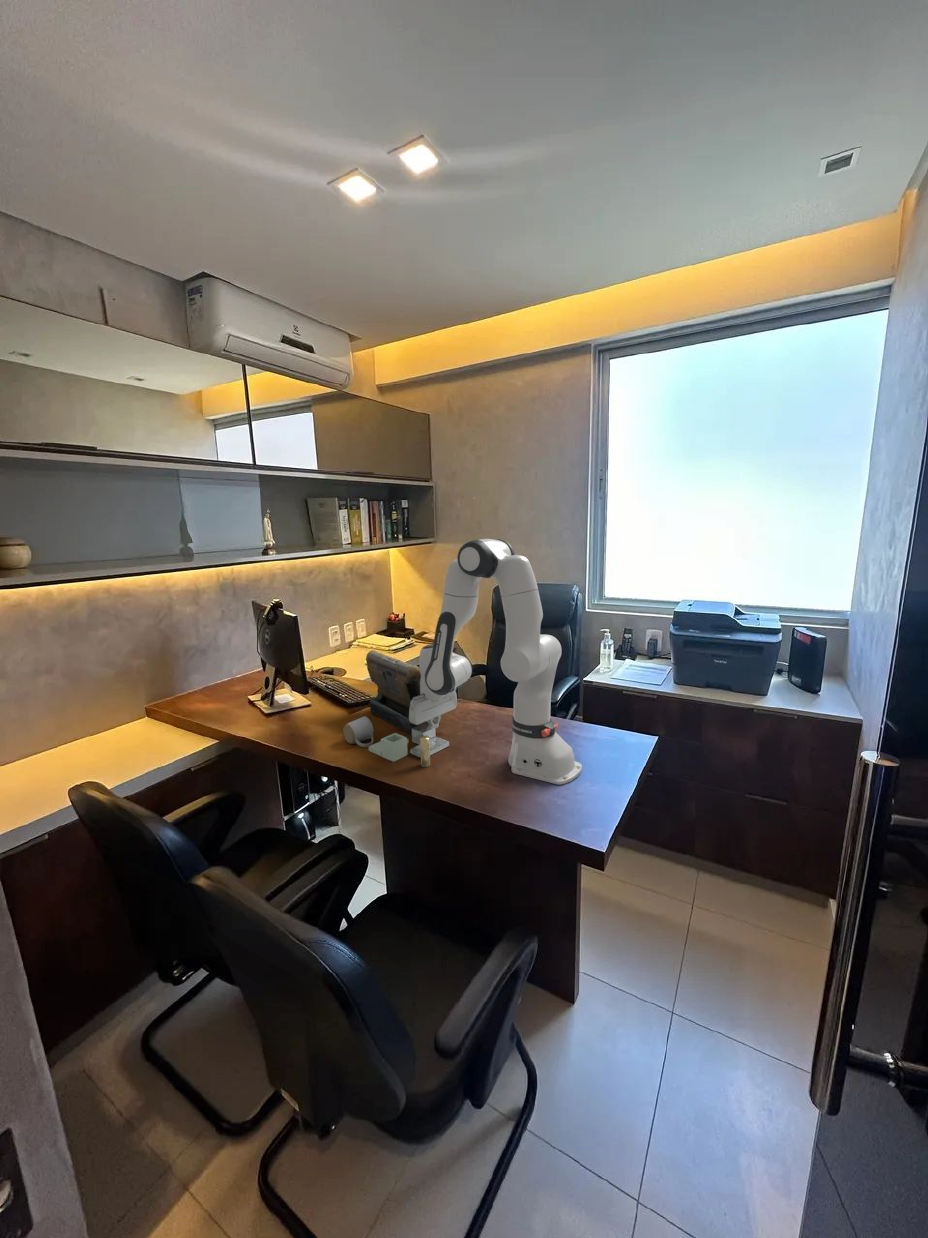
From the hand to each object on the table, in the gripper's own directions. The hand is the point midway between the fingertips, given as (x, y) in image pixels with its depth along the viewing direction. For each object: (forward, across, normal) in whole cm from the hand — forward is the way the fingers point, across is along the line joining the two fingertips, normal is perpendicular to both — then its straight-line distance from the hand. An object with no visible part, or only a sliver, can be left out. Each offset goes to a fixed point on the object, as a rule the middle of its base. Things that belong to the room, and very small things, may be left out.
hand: (434, 728), depth 169 cm
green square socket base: (+3, -15, +3) cm, 16 cm away
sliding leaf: (+3, -8, -3) cm, 9 cm away
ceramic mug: (+4, -19, +16) cm, 25 cm away
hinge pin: (+3, -16, -12) cm, 20 cm away
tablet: (+4, +3, +20) cm, 21 cm away
